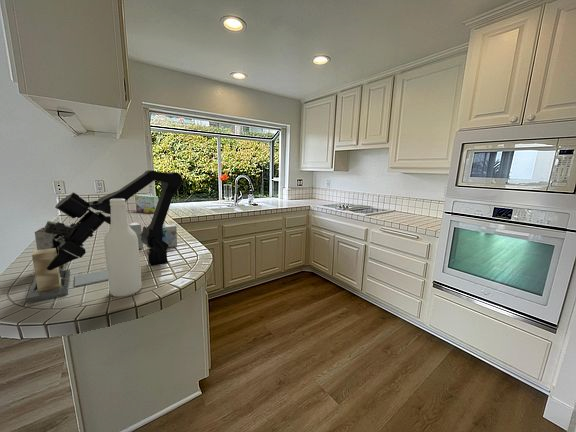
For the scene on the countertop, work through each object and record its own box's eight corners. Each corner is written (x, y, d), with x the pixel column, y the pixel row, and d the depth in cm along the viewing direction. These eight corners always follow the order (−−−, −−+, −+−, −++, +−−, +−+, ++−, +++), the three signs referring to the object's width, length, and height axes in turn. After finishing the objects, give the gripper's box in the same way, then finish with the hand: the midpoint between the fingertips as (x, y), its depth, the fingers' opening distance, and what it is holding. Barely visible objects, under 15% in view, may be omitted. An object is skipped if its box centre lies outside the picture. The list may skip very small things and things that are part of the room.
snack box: (136, 211, 222) (134, 194, 219) (141, 211, 227) (140, 194, 224) (154, 213, 215) (153, 196, 212) (159, 212, 220) (158, 195, 218)
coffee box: (63, 271, 94) (57, 230, 91) (40, 274, 91) (33, 232, 88) (69, 263, 102) (64, 225, 99) (48, 266, 99) (42, 226, 96)
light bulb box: (155, 249, 122) (153, 228, 120) (152, 246, 127) (150, 225, 125) (178, 245, 129) (176, 225, 127) (174, 242, 134) (173, 223, 132)
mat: (109, 270, 97) (108, 269, 97) (111, 279, 89) (111, 278, 89) (75, 276, 90) (75, 275, 90) (74, 287, 83) (74, 285, 83)
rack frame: (70, 273, 93) (69, 269, 93) (68, 294, 78) (67, 289, 78) (36, 279, 88) (35, 275, 87) (26, 303, 72) (26, 298, 72)
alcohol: (142, 293, 80) (134, 200, 74) (108, 300, 75) (97, 201, 70) (142, 282, 87) (134, 197, 82) (111, 288, 83) (101, 198, 77)
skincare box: (143, 248, 124) (141, 224, 122) (133, 250, 121) (131, 225, 119) (139, 245, 128) (137, 222, 126) (129, 247, 125) (127, 223, 123)
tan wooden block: (61, 284, 84) (55, 247, 82) (60, 290, 80) (54, 252, 78) (40, 289, 81) (34, 250, 79) (38, 295, 77) (31, 255, 75)
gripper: (57, 208, 86) (15, 245, 80) (67, 215, 74) (18, 260, 68) (88, 227, 93) (52, 262, 87) (102, 236, 81) (61, 278, 75)
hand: (46, 265), depth 79 cm, fingers open, 9 cm apart
